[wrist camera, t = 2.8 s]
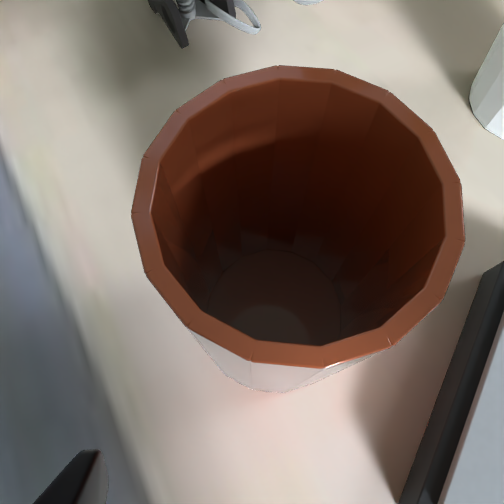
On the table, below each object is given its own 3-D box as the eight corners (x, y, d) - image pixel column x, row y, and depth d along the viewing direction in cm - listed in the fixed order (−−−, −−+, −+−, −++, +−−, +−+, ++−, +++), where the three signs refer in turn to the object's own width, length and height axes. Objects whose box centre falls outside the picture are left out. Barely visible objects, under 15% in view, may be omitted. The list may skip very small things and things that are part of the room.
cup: (308, 421, 20) (389, 437, 8) (172, 346, 22) (67, 262, 9) (370, 285, 23) (507, 138, 10) (243, 224, 24) (232, 25, 12)
